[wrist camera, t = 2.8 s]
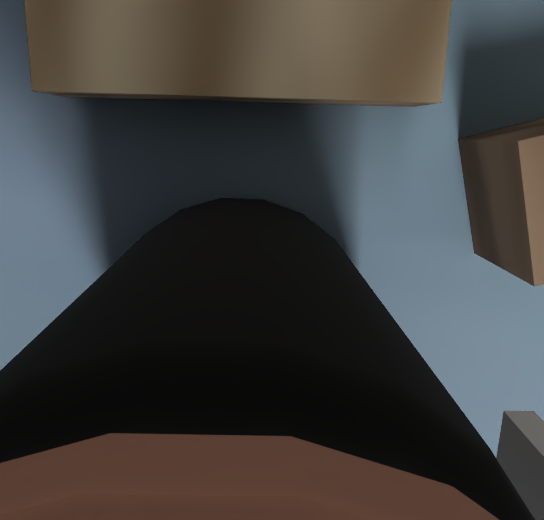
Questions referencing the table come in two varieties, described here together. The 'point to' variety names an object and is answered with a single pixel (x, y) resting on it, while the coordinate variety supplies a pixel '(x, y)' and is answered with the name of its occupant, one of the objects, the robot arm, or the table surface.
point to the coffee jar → (237, 391)
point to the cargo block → (507, 197)
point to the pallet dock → (241, 50)
